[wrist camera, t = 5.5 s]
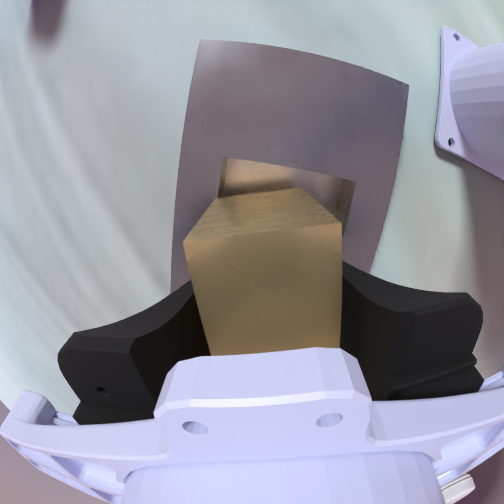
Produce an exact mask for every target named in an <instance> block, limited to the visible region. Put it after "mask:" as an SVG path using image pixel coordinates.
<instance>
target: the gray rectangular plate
mask: <svg viewBox="0 0 504 504" xmlns="http://www.w3.org/2000/svg"><path fill="white" fill-rule="evenodd" d="M408 91H409V85H408V84H405V83H403V82H401V81H398V80H396V79H393V78H391V77H388V76H385V75H383V74H380V73H377V72H374V71H372V70H369V69H366V68H363V67H360V66H356V65H353V64H350V63H347V62H343V61H340V60H336V59H332V58H328V57H325V56H320V55H316V54H312V53H307V52H303V51H298V50H293V49H287V48H282V47H276V46H269V45H262V44H254V43H245V42H234V41H220V40H200V42H199V47H198V51H197V56H196V61H195V66H194V71H193V76H192V81H191V86H190V92H189V98H188V104H187V110H186V116H185V123H184V130H183V137H182V144H181V152H180V161H179V169H178V179H177V189H176V200H175V212H174V226H173V242H172V263H171V293H173V292H174V291H176V290H177V289H178V288H180V287H181V286H182V285H184V284H185V283H186V282H188V281H189V280H190V279H191V277H190V273H189V269H188V264H187V260H186V255H185V251H184V246H183V241H184V240H185V238H186V237H187V235H188V234H189V233H190V231H191V230H192V229H193V227H194V226H195V225H196V223H197V222H198V221H199V219H200V218H201V217H202V215H203V214H204V213H205V211H206V210H207V209H208V207H209V206H210V205H211V203H212V202H213V201H214V200H215V198H221V197H228V196H236V195H243V194H251V193H259V192H268V191H276V190H285V189H295V188H302V189H303V190H305V191H306V192H307V193H308V194H309V195H310V196H312V197H313V198H314V199H315V200H316V201H317V202H318V203H320V204H321V205H322V206H323V207H324V208H325V209H326V210H328V211H329V212H330V213H331V214H332V215H333V216H334V217H335V218H336V219H337V220H339V221H340V222H341V223H342V261H345V262H347V263H348V264H350V265H352V266H354V267H356V268H358V269H360V270H362V271H364V272H366V273H368V274H369V271H370V268H371V265H372V262H373V258H374V255H375V252H376V249H377V245H378V242H379V238H380V235H381V231H382V228H383V224H384V220H385V217H386V213H387V209H388V205H389V201H390V197H391V192H392V188H393V184H394V179H395V174H396V169H397V164H398V159H399V154H400V148H401V143H402V137H403V130H404V123H405V116H406V109H407V100H408Z"/></svg>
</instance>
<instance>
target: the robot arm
mask: <svg viewBox="0 0 504 504" xmlns="http://www.w3.org/2000/svg"><path fill="white" fill-rule="evenodd" d="M454 37H455V38H456V39H455V38H454ZM449 139H450V141H451V145H450V146H449V144H448V140H449ZM435 142H436V144H437V146H438V147H440V148H441V149H444V150H446V151H448V152H450V153H452V154H454V155H457V156H459V157H461V158H463V159H465V160H467V161H469V162H471V163H473V164H475V165H476V166H478V167H480V168H482V169H484V170H486V171H488V172H489V173H491V174H493V175H495V176H496V177H498V178H500V179H501V180H503V181H504V42H500V43H496V44H492V45H489V46H485V47H481V48H480V47H479V46H477V45H476V44H474V43H473V42H472V41H470V40H469V39H467V38H466V37H464V36H463V35H461V34H460V33H458V32H456V31H455V30H453V29H452V28H450V27H448V26H444V27H442V28H441V78H440V94H439V106H438V115H437V124H436V131H435ZM482 323H483V311H482V308H481V306H480V305H479V304H478V303H477V302H476V301H475V300H474V299H473V298H472V297H471V296H470V295H469V294H468V293H444V292H433V291H425V290H418V289H413V288H409V287H404V286H400V285H397V284H394V283H391V282H388V281H385V280H382V279H380V278H377V277H375V276H373V275H370V274H368V273H366V272H364V271H362V270H360V269H358V268H356V267H354V266H352V265H350V264H348V263H347V262H345V261H342V310H341V332H340V348H321V347H313V348H305V349H297V350H288V351H278V352H268V353H256V354H242V355H225V356H211V353H210V350H209V346H208V343H207V339H206V336H205V332H204V328H203V325H202V321H201V317H200V313H199V309H198V306H197V302H196V298H195V294H194V290H193V286H192V281H191V279H190V280H189V281H188V282H186V283H185V284H184V285H182V286H181V287H180V288H178V289H177V290H176V291H174V292H173V293H171V294H170V295H169V296H167V297H166V298H164V299H163V300H161V301H160V302H158V303H156V304H155V305H153V306H151V307H149V308H148V309H146V310H144V311H142V312H140V313H137V314H135V315H133V316H131V317H128V318H126V319H124V320H121V321H118V322H115V323H112V324H109V325H106V326H102V327H98V328H94V329H89V330H84V331H79V332H74V333H73V334H72V336H71V337H70V338H69V339H68V341H67V342H66V343H65V344H64V346H63V347H62V348H61V349H60V351H59V353H58V364H59V367H60V370H61V372H62V374H63V376H64V377H65V379H66V381H67V382H68V384H69V385H70V387H71V388H72V389H73V391H74V392H75V394H76V395H77V397H78V398H79V399H80V401H81V402H80V404H79V405H78V407H77V409H76V411H75V413H74V415H73V416H72V415H68V414H65V413H61V412H58V411H56V410H55V408H54V407H53V405H52V404H51V403H50V401H49V400H48V399H47V398H45V397H44V396H42V395H40V394H37V393H34V392H30V391H28V390H25V391H24V392H23V394H22V395H21V397H20V398H19V400H18V401H17V402H16V404H15V405H14V407H13V408H12V410H11V411H10V413H9V414H8V416H7V417H6V419H5V421H4V422H3V424H2V425H1V427H0V434H1V435H2V436H3V437H4V438H5V439H6V440H7V441H8V442H9V443H10V444H11V445H12V446H13V447H14V448H15V449H16V450H17V451H18V452H19V453H20V454H21V455H22V456H23V457H24V458H25V459H26V460H28V461H29V462H30V463H31V464H33V466H35V467H36V468H37V469H39V470H40V471H42V472H44V473H46V474H48V475H50V476H52V477H54V478H56V479H58V480H60V481H62V482H64V483H66V484H68V485H70V486H72V487H74V488H76V489H78V490H80V491H82V492H85V493H87V494H89V495H91V496H94V497H96V498H98V499H101V500H103V501H106V502H108V503H111V504H446V503H445V500H444V496H443V493H442V490H441V486H443V485H445V484H447V483H449V482H451V481H452V480H454V479H456V478H458V477H459V476H461V475H463V474H464V473H466V472H468V471H469V470H471V469H472V468H474V467H476V466H477V465H479V464H480V463H482V462H483V461H485V460H486V459H488V458H489V457H491V456H492V455H493V454H495V453H496V452H498V451H499V450H500V449H502V448H503V447H504V366H503V368H502V371H500V372H498V373H496V374H494V375H492V376H490V377H488V378H486V379H483V378H482V376H481V375H480V373H479V372H478V370H477V369H476V368H475V366H474V365H475V364H476V362H477V359H476V358H475V356H474V355H473V354H472V352H473V349H474V347H475V344H476V342H477V339H478V336H479V334H480V331H481V327H482Z"/></svg>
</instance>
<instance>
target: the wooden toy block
mask: <svg viewBox="0 0 504 504" xmlns="http://www.w3.org/2000/svg"><path fill="white" fill-rule="evenodd" d="M183 246H184V251H185V255H186V260H187V264H188V269H189V273H190V277H191V281H192V286H193V290H194V294H195V298H196V302H197V306H198V309H199V313H200V317H201V321H202V325H203V328H204V332H205V336H206V339H207V343H208V346H209V350H210V353H211V356H225V355H242V354H256V353H268V352H278V351H288V350H297V349H305V348H313V347H321V348H340V332H341V310H342V223H341V222H340V221H339V220H337V219H336V218H335V217H334V216H333V215H332V214H331V213H330V212H329V211H328V210H326V209H325V208H324V207H323V206H322V205H321V204H320V203H318V202H317V201H316V200H315V199H314V198H313V197H312V196H310V195H309V194H308V193H307V192H306V191H305V190H303V189H302V188H295V189H285V190H276V191H268V192H259V193H251V194H243V195H236V196H228V197H221V198H215V200H214V201H213V202H212V203H211V205H210V206H209V207H208V209H207V210H206V211H205V213H204V214H203V215H202V217H201V218H200V219H199V221H198V222H197V223H196V225H195V226H194V227H193V229H192V230H191V231H190V233H189V234H188V235H187V237H186V238H185V240H184V241H183Z"/></svg>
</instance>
